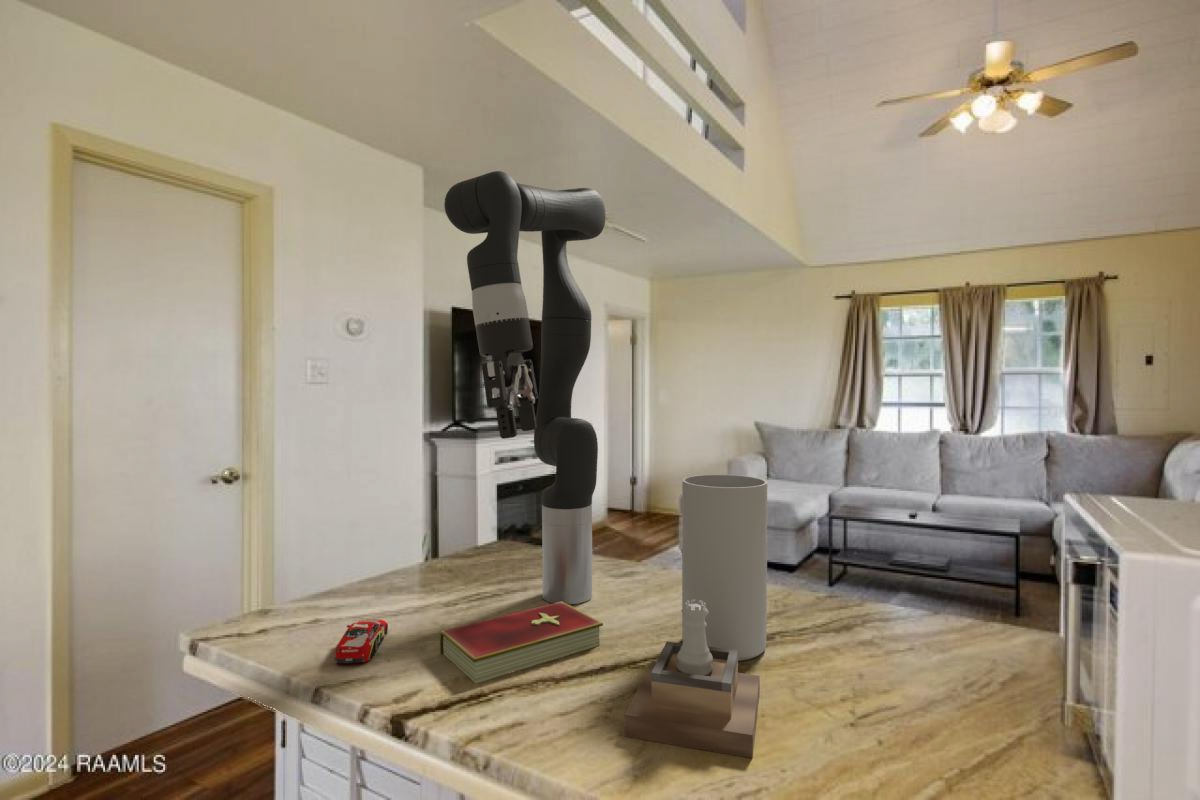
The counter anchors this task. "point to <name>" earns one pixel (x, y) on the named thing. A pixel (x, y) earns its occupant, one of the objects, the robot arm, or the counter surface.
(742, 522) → the cylinder vase
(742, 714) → the walnut plinth
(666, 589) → the counter surface
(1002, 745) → the counter surface
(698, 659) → the rook chess piece
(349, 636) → the race car
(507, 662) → the hardcover book
